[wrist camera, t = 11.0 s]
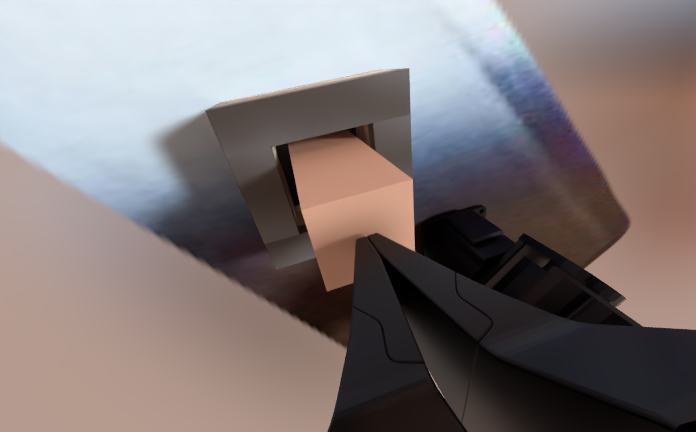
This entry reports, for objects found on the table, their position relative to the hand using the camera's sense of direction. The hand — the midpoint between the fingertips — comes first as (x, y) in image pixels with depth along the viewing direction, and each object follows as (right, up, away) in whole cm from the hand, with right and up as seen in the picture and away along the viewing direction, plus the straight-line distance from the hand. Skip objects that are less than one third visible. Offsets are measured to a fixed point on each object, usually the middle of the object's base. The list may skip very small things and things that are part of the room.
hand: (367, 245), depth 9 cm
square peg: (-3, +5, +9) cm, 10 cm away
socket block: (-3, +5, +9) cm, 10 cm away
